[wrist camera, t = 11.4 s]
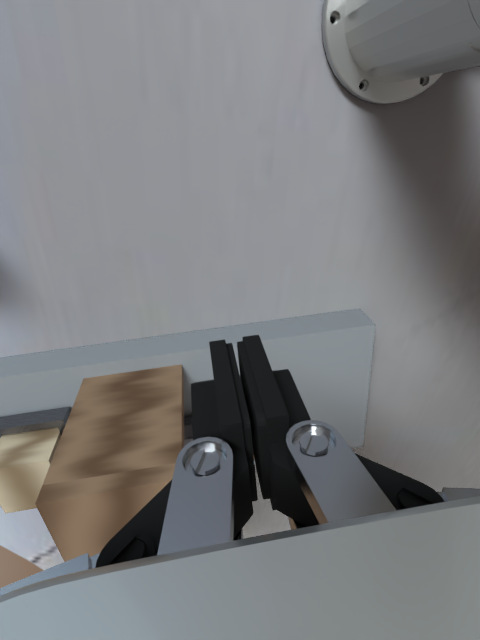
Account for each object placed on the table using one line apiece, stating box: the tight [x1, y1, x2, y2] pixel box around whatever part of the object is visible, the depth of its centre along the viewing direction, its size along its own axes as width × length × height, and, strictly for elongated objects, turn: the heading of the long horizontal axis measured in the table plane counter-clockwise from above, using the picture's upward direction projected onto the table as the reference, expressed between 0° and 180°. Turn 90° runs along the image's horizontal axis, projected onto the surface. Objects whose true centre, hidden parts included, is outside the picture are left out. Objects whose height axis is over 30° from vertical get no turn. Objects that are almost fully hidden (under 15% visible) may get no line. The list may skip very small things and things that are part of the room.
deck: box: [0, 309, 375, 506], centre depth 44 cm, size 45×18×4 cm, turn 95°
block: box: [0, 427, 61, 513], centre depth 39 cm, size 6×6×6 cm
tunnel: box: [35, 364, 184, 562], centre depth 36 cm, size 10×15×14 cm, turn 4°
